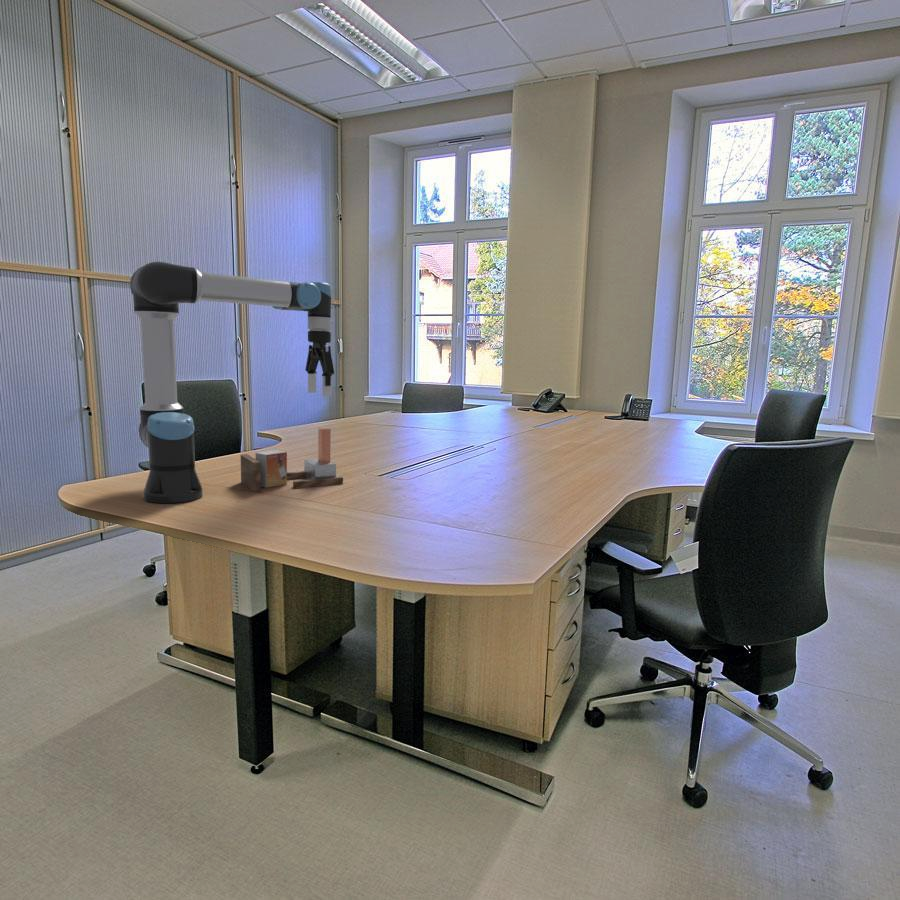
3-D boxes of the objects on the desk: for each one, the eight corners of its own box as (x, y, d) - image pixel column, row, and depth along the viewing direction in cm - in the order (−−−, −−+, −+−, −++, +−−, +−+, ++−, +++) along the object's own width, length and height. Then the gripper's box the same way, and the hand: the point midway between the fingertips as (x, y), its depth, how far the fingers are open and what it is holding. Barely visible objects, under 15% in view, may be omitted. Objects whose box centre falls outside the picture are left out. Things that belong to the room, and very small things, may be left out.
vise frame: (254, 492, 179) (253, 462, 178) (241, 482, 191) (240, 454, 190) (343, 483, 195) (343, 456, 193) (325, 474, 207) (326, 449, 205)
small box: (266, 488, 185) (265, 454, 183) (255, 485, 188) (254, 452, 186) (287, 484, 191) (287, 451, 189) (276, 481, 194) (276, 449, 192)
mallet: (315, 483, 192) (315, 431, 189) (304, 477, 200) (304, 427, 197) (335, 481, 196) (336, 430, 193) (324, 476, 204) (324, 426, 201)
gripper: (344, 330, 192) (344, 397, 195) (316, 331, 212) (316, 391, 216) (322, 329, 188) (322, 397, 191) (296, 330, 208) (296, 391, 212)
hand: (319, 394), depth 204 cm, fingers open, 13 cm apart
